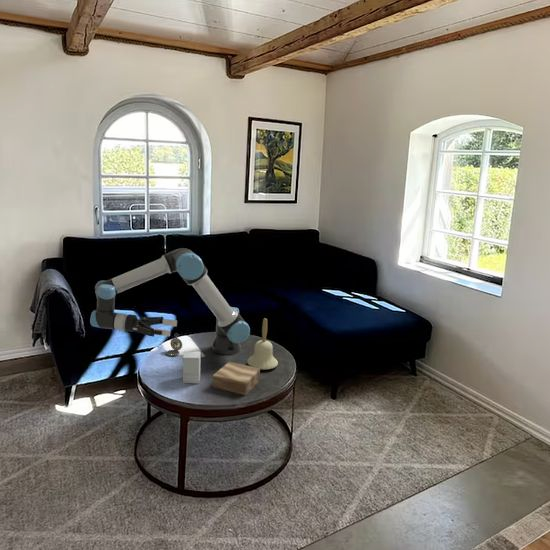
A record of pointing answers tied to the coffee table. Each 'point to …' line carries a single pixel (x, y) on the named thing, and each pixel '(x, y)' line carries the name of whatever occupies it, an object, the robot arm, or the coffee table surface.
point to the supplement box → (191, 367)
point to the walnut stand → (236, 378)
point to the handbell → (263, 352)
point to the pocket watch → (175, 346)
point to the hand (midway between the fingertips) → (173, 328)
